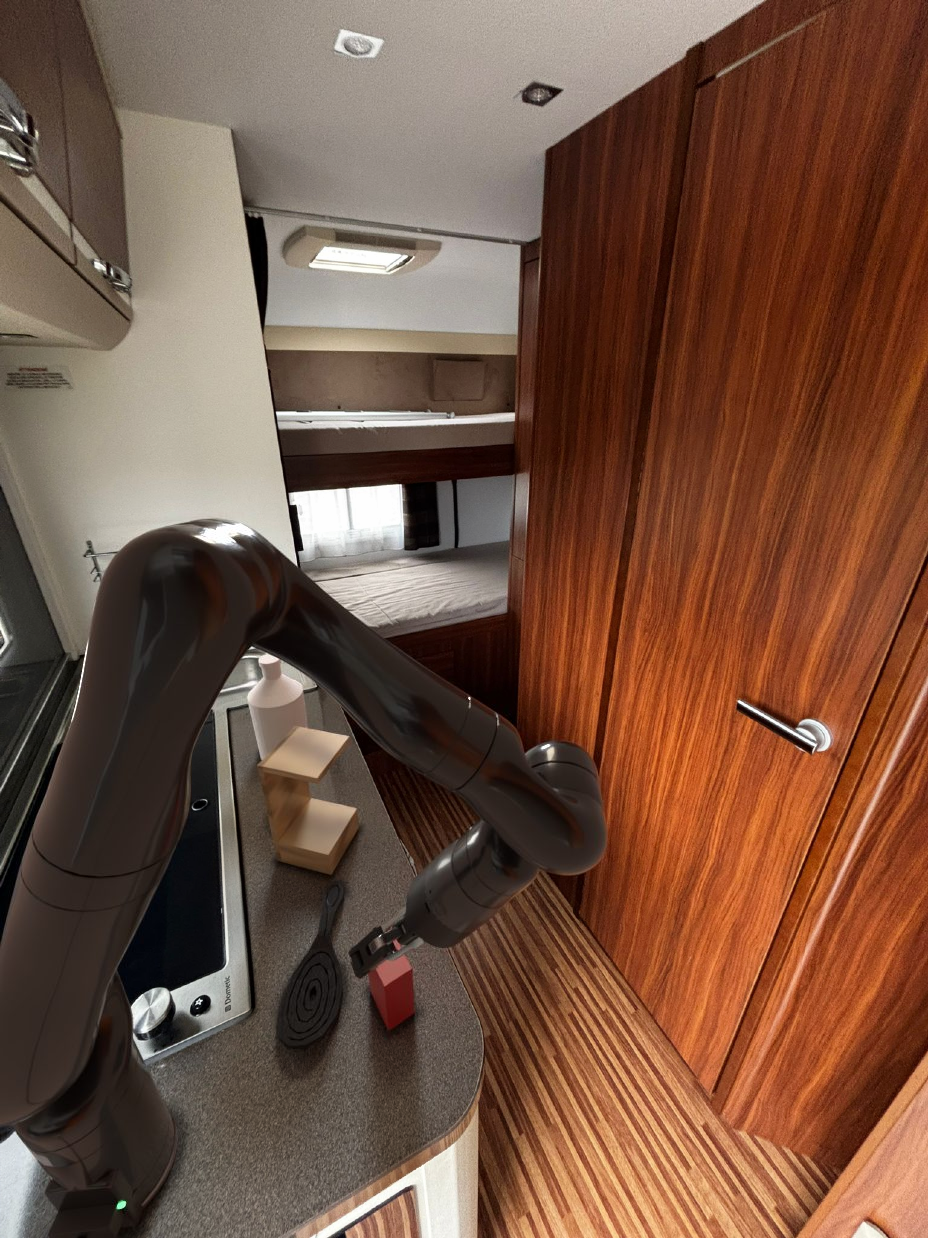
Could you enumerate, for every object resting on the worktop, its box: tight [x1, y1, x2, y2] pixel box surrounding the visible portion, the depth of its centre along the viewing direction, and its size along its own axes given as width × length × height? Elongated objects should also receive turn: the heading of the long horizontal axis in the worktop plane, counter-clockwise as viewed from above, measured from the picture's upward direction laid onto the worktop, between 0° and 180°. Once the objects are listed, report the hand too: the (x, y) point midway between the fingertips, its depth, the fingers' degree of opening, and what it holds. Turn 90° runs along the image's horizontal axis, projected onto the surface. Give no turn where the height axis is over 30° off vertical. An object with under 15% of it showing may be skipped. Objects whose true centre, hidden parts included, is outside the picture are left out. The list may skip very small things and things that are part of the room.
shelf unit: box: [257, 726, 360, 876], centre depth 89 cm, size 11×11×22 cm
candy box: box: [367, 940, 415, 1032], centre depth 67 cm, size 4×6×10 cm, turn 34°
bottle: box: [246, 653, 309, 761], centre depth 112 cm, size 12×12×25 cm
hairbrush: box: [276, 880, 345, 1051], centre depth 74 cm, size 8×4×25 cm
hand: (389, 950), depth 57 cm, fingers open, 8 cm apart
